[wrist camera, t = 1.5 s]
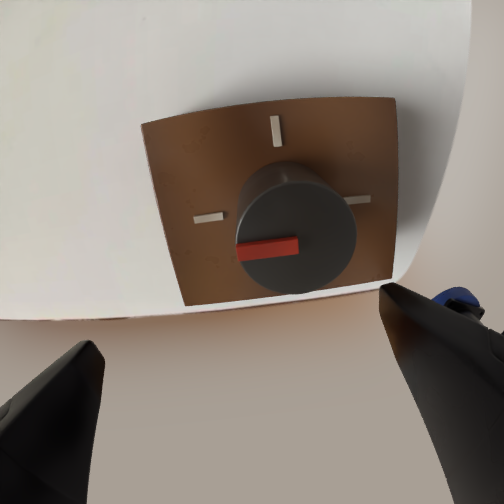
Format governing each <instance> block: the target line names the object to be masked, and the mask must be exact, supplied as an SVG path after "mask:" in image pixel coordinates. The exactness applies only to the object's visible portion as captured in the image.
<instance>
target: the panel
mask: <svg viewBox="0 0 504 504" xmlns="http://www.w3.org/2000/svg"><path fill="white" fill-rule="evenodd" d="M141 130H142V135H143V141H144V146H145V151H146V156H147V161H148V166H149V170H150V175H151V180H152V184H153V189H154V193H155V197H156V202H157V206H158V210H159V214H160V218H161V222H162V226H163V230H164V234H165V238H166V242H167V245H168V249H169V253H170V256H171V260H172V264H173V267H174V271H175V274H176V278H177V281H178V284H179V288H180V291H181V294H182V298H183V301H184V304H185V306H193V305H203V304H213V303H222V302H232V301H240V300H249V299H257V298H265V297H273V296H281V295H288V294H282V293H277V292H274V291H271V290H268V289H266V288H264V287H262V286H260V285H259V284H258V283H256V282H255V281H254V280H253V279H252V278H250V277H249V276H248V274H247V273H246V272H245V271H244V269H243V267H242V266H241V264H240V262H239V261H238V258H237V253H236V247H235V233H236V219H237V205H238V198H239V194H240V191H241V189H242V187H243V185H244V184H245V182H246V181H247V179H248V178H249V177H250V176H251V175H252V174H253V173H255V172H256V171H257V170H259V169H260V168H262V167H264V166H266V165H269V164H272V163H276V162H295V163H299V164H302V165H304V166H306V167H308V168H310V169H311V170H313V171H314V172H315V173H317V174H318V175H319V176H320V177H321V178H322V179H323V180H324V181H325V182H327V183H328V184H329V185H330V186H331V187H332V188H333V189H334V190H335V191H336V192H337V193H338V194H339V195H340V196H341V197H342V198H343V199H344V200H345V201H346V202H347V204H348V205H349V206H350V208H351V210H352V212H353V215H354V217H355V221H356V226H357V242H356V247H355V250H354V253H353V256H352V258H351V260H350V262H349V264H348V265H347V267H346V268H345V269H344V270H343V272H342V273H341V274H340V275H339V276H338V277H337V278H336V279H334V280H333V281H332V282H330V283H329V284H327V285H326V286H324V287H322V288H320V289H317V290H324V289H330V288H337V287H343V286H350V285H356V284H362V283H368V282H374V281H380V280H386V279H391V278H392V272H393V263H394V254H395V242H396V229H397V211H398V131H397V114H396V101H395V98H389V97H318V98H300V99H286V100H275V101H265V102H256V103H248V104H240V105H233V106H227V107H220V108H214V109H208V110H203V111H197V112H192V113H187V114H182V115H177V116H173V117H168V118H164V119H160V120H155V121H151V122H147V123H143V124H141ZM317 290H315V291H317Z"/></svg>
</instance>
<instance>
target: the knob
mask: <svg viewBox="0 0 504 504" xmlns="http://www.w3.org/2000/svg"><path fill="white" fill-rule="evenodd" d="M356 242H357V226H356V221H355V217H354V215H353V212H352V210H351V208H350V206H349V205H348V204H347V202H346V201H345V200H344V199H343V198H342V197H341V196H340V195H339V194H338V193H337V192H336V191H335V190H334V189H333V188H332V187H331V186H330V185H329V184H328V183H327V182H325V181H324V180H323V179H322V178H321V177H320V176H319V175H318V174H317V173H315V172H314V171H313V170H311V169H310V168H308V167H306V166H304V165H302V164H299V163H295V162H276V163H272V164H269V165H266V166H264V167H262V168H260V169H259V170H257V171H256V172H255V173H253V174H252V175H251V176H250V177H249V178H248V179H247V181H246V182H245V184H244V185H243V187H242V189H241V191H240V194H239V198H238V205H237V219H236V233H235V247H236V253H237V258H238V261H239V262H240V264H241V266H242V267H243V269H244V271H245V272H246V273H247V274H248V276H249V277H250V278H252V279H253V280H254V281H255V282H256V283H258V284H259V285H260V286H262V287H264V288H266V289H268V290H271V291H274V292H277V293H282V294H303V293H308V292H312V291H315V290H317V289H320V288H322V287H324V286H326V285H327V284H329V283H330V282H332V281H333V280H334V279H336V278H337V277H338V276H339V275H340V274H341V273H342V272H343V270H344V269H345V268H346V267H347V265H348V264H349V262H350V260H351V258H352V256H353V253H354V250H355V247H356Z"/></svg>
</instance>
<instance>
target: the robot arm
mask: <svg viewBox="0 0 504 504" xmlns="http://www.w3.org/2000/svg"><path fill="white" fill-rule="evenodd" d="M379 312H380V316H381V319H382V322H383V325H384V327H385V330H386V333H387V336H388V338H389V341H390V344H391V347H392V350H393V353H394V355H395V358H396V361H397V363H398V365H399V367H400V369H401V371H402V374H403V376H404V378H405V380H406V382H407V384H408V386H409V389H410V391H411V393H412V395H413V397H414V400H415V402H416V404H417V406H418V409H419V411H420V413H421V416H422V418H423V420H424V423H425V425H426V428H427V430H428V432H429V435H430V437H431V440H432V442H433V445H434V447H435V450H436V452H437V455H438V458H439V460H440V463H441V466H442V468H443V471H444V474H445V477H446V478H447V483H448V486H449V489H450V492H451V495H452V498H453V501H454V504H504V331H503V333H501V334H500V333H498V332H495V331H494V330H492V329H489V330H488V327H485V326H484V325H483V324H482V323H481V322H480V319H481V318H482V316H483V314H484V312H485V310H484V309H483V308H482V307H479V306H476V305H473V304H470V303H466V302H463V301H460V300H456V299H453V298H450V299H448V300H447V301H446V302H445V304H444V306H443V305H441V304H439V303H437V302H435V301H433V300H430V299H428V298H426V297H424V296H422V295H420V294H418V293H416V292H414V291H411V290H409V289H407V288H405V287H403V286H401V285H398V284H396V283H394V282H392V283H388V284H384V285H381V287H380V289H379ZM104 369H105V359H104V357H103V356H102V354H101V353H100V351H99V350H98V348H97V347H96V345H95V344H94V342H92V341H91V340H84V341H80V342H79V343H77V344H76V345H75V346H74V347H72V348H71V349H70V350H69V351H68V352H66V353H65V354H64V355H63V356H61V357H60V358H59V359H58V360H56V361H55V362H54V363H53V364H51V365H50V366H49V367H48V368H47V369H45V370H44V371H43V372H42V373H40V374H39V375H38V376H37V377H36V378H34V379H33V380H32V381H31V382H30V383H28V384H27V385H26V386H25V387H24V388H23V389H21V390H20V391H19V392H18V393H17V394H15V395H14V396H13V397H12V398H11V399H9V400H8V401H7V402H6V403H5V404H4V405H2V406H1V407H0V504H87V492H88V482H89V473H90V465H91V457H92V450H93V443H94V437H95V430H96V425H97V419H98V413H99V409H100V403H101V395H102V385H103V377H104Z"/></svg>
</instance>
